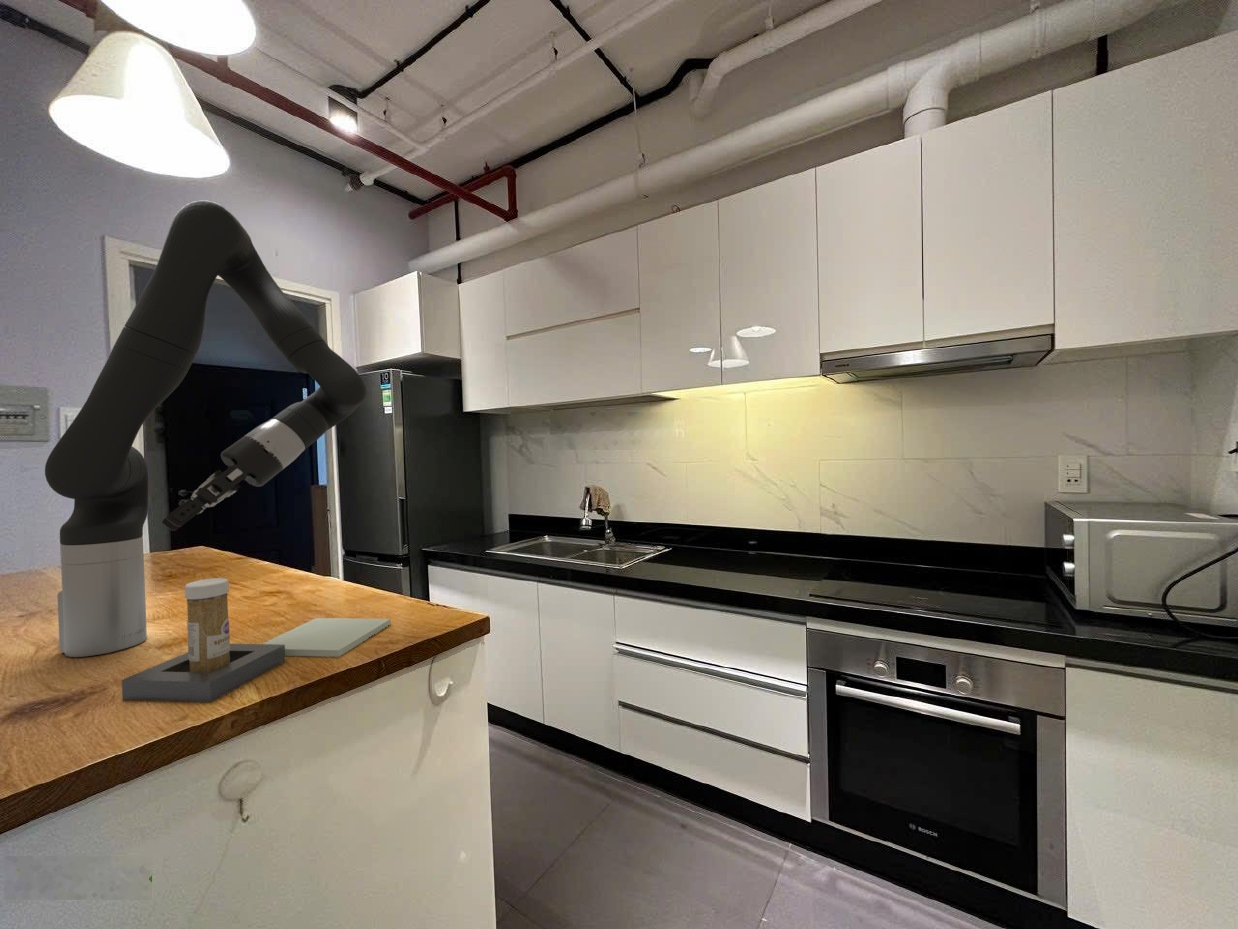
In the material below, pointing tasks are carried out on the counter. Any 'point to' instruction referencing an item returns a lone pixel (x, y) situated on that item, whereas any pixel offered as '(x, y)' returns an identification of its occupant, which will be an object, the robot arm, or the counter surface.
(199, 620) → the sprinkles bottle
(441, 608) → the counter surface
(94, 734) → the counter surface
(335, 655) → the sage board
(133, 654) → the counter surface
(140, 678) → the metal socket
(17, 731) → the counter surface
